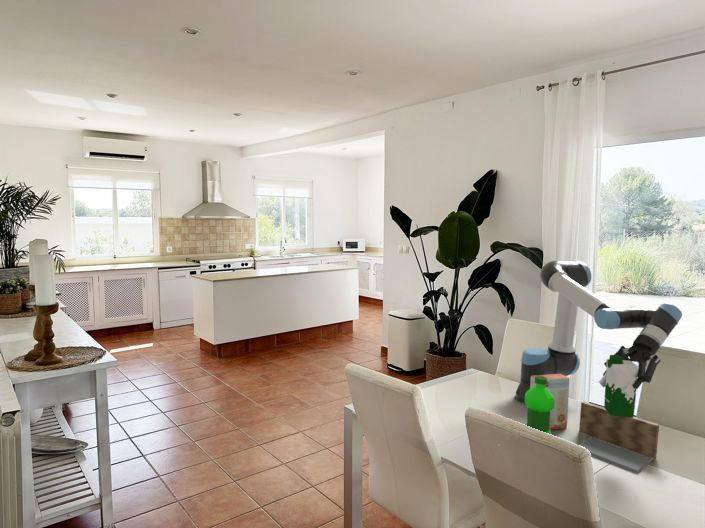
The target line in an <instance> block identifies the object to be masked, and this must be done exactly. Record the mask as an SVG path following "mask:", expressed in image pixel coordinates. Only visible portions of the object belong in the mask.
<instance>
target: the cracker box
mask: <svg viewBox="0 0 705 528" xmlns="http://www.w3.org/2000/svg"><path fill="white" fill-rule="evenodd" d="M535 376H543V377H546V378H547V384H545V388H546V389H548V390H549V391H550V392H551V393H552V394H553V396H554V399H555V404H554V408H553V409H552V410H551V411H550V422H549V429H550V431H552V430H551V429H554V430H562V429H563V430H564V429H567V428H568V427H567V426H568V410H569V392H570V377H568V376H564V375H562V374H549V375H534V376H531V380H530V389H531V388H533V387H535V386H536V383H535Z"/></svg>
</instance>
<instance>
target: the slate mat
mask: <svg viewBox="0 0 705 528" xmlns="http://www.w3.org/2000/svg"><path fill="white" fill-rule="evenodd" d="M579 445H581V446H583V447H585V448H586V449H588V450H589V451H590V453H591V455H592V457H594V458H597V459H599V460H601V461H602V460H603V461H604V462H607V463H609V464H612V465H615V466H617V467H620V468H623V469H625V470H628V471H630V472H633V473H636V474H638V473H640V472H641V471H642V470H643V469H644V468H645V467H647V466H648V465H649V464H650V463H651V462H652V461H653V458H650V457H647V456H644V455H642V454H639V453H636V452H633V451H630V450H628V449H625V448H622V447H619V446H616V445H614V444H611V443H608V442H605V441H602V440H600V439H597V438H594V437H590V438H588V439H587V440H585V441H584V442H582V443H581V444H579ZM591 455H590V456H591Z"/></svg>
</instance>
